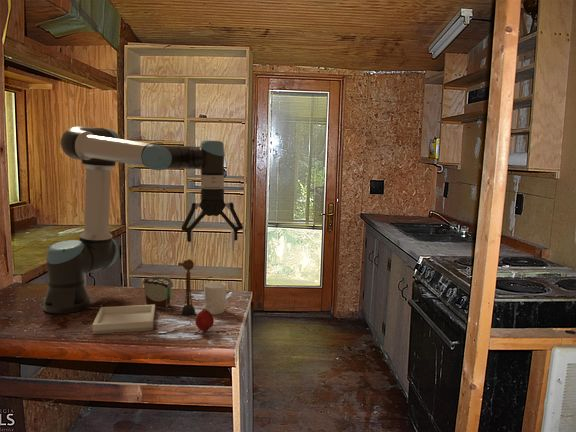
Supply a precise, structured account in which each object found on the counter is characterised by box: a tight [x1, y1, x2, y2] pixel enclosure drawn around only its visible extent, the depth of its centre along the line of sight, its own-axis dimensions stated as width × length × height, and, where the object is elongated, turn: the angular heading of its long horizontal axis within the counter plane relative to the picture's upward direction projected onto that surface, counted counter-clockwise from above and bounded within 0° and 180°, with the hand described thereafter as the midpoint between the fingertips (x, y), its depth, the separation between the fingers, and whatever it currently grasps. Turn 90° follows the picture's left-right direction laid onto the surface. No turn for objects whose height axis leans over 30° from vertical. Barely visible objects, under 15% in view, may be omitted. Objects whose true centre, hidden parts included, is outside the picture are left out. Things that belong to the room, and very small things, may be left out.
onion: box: [194, 307, 215, 333], centre depth 143 cm, size 6×6×8 cm
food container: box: [142, 276, 174, 310], centre depth 166 cm, size 12×6×10 cm, turn 65°
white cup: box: [203, 281, 227, 315], centre depth 161 cm, size 8×8×10 cm
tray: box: [91, 304, 156, 335], centre depth 149 cm, size 18×16×3 cm
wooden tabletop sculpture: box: [178, 258, 196, 317], centre depth 157 cm, size 6×5×20 cm
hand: (212, 250), depth 151 cm, fingers open, 13 cm apart
